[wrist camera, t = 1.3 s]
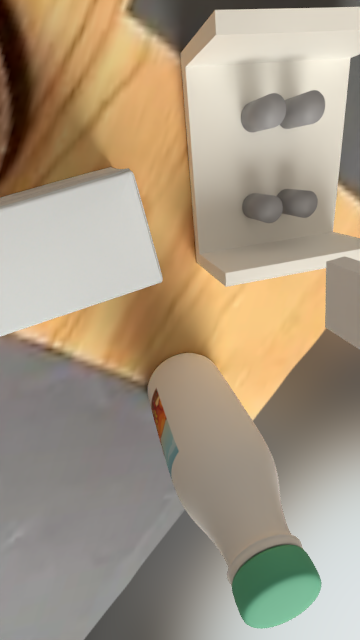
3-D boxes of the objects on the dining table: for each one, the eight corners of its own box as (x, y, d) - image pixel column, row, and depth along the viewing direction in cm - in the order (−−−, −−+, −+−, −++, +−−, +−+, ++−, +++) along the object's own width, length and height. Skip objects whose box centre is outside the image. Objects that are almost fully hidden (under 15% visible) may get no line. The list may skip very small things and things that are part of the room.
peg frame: (196, 262, 29) (226, 286, 23) (180, 53, 23) (214, 9, 17) (325, 240, 32) (382, 257, 26) (342, 45, 25) (425, 5, 19)
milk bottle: (157, 344, 32) (247, 560, 14) (227, 355, 34) (376, 549, 17) (137, 409, 34) (193, 662, 17) (204, 415, 37) (312, 638, 19)
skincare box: (15, 286, 26) (-23, 348, 17) (-27, 204, 24) (-101, 226, 14) (139, 247, 28) (166, 285, 18) (114, 165, 25) (131, 161, 16)
